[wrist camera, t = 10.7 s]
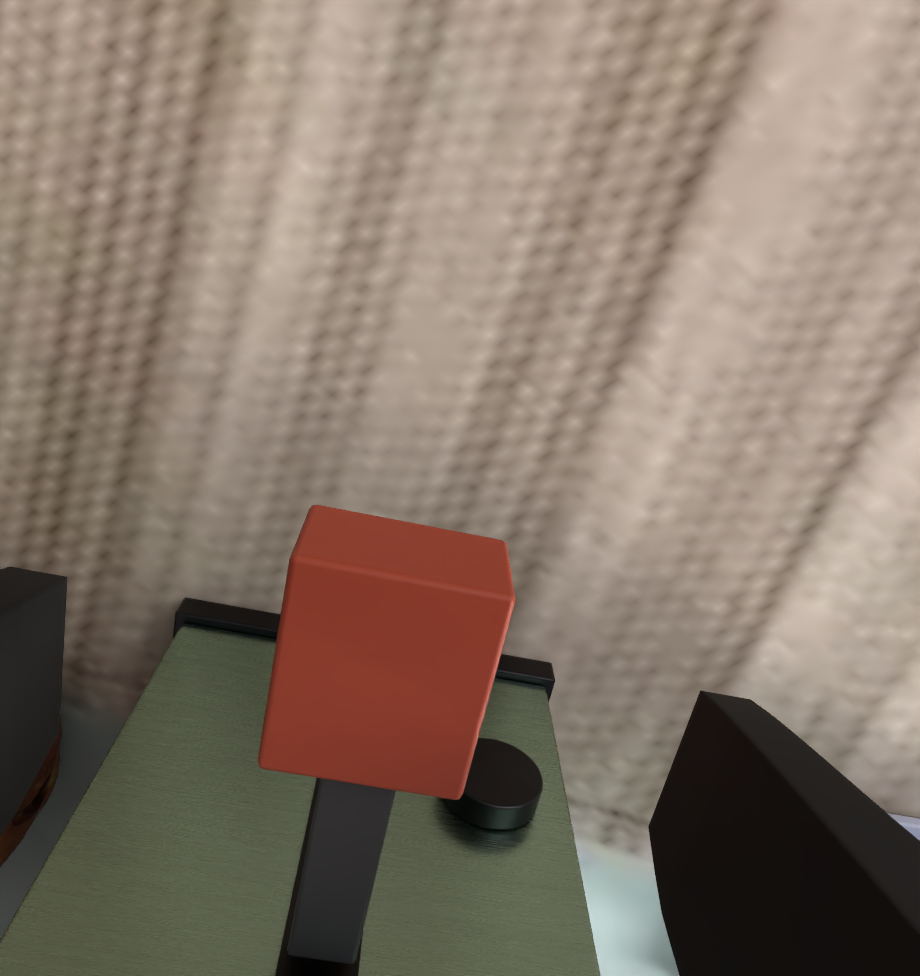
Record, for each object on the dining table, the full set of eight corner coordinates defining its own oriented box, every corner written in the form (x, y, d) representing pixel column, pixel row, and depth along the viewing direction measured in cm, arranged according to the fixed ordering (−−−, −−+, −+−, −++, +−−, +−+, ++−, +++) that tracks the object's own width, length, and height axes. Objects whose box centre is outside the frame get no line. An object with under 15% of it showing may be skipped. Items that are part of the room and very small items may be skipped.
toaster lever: (311, 500, 11) (288, 555, 9) (508, 538, 11) (518, 597, 9) (248, 879, 13) (222, 971, 11) (412, 903, 13) (408, 998, 12)
